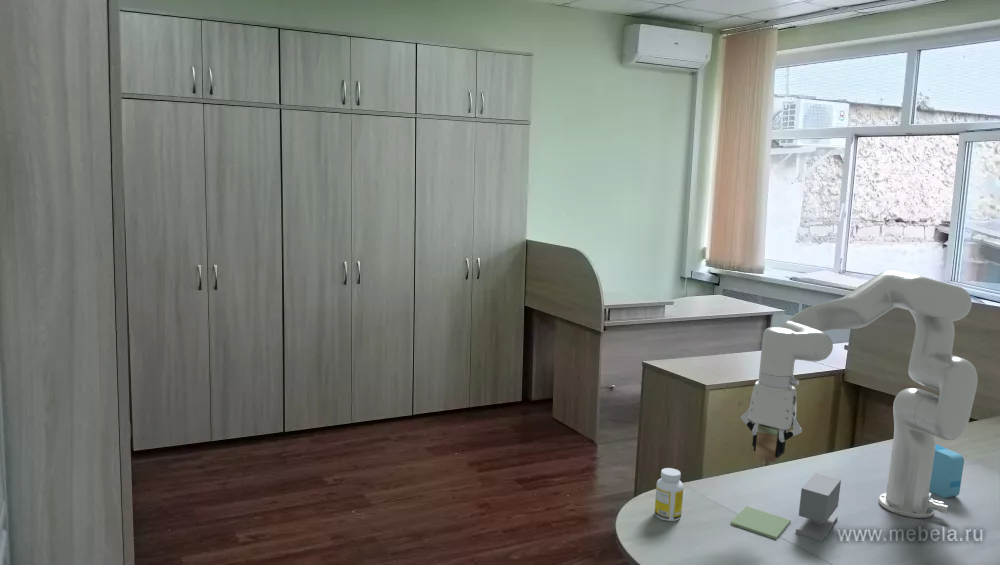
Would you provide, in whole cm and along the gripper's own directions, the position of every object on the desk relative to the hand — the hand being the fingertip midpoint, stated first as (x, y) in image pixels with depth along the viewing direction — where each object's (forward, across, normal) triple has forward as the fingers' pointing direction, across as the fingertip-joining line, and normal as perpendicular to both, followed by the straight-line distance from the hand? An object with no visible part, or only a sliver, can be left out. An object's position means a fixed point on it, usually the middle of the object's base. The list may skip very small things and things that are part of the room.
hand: (767, 452), depth 177 cm
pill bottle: (+19, +19, +12) cm, 29 cm away
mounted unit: (+18, -11, -8) cm, 23 cm away
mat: (+18, 0, 0) cm, 18 cm away
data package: (+19, -30, -53) cm, 64 cm away
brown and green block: (+1, 0, 0) cm, 1 cm away
